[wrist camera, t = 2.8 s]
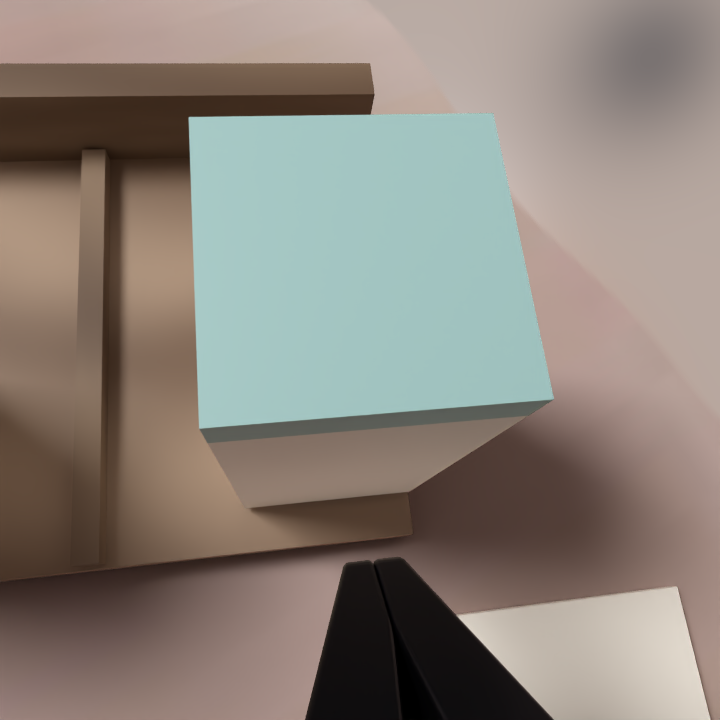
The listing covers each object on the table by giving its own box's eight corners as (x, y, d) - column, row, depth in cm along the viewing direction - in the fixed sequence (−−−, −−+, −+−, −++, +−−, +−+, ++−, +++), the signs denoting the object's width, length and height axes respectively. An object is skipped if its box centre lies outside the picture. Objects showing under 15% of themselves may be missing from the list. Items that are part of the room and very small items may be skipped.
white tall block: (409, 491, 16) (554, 399, 7) (245, 508, 15) (199, 429, 7) (388, 340, 17) (493, 112, 8) (236, 349, 16) (188, 117, 8)
